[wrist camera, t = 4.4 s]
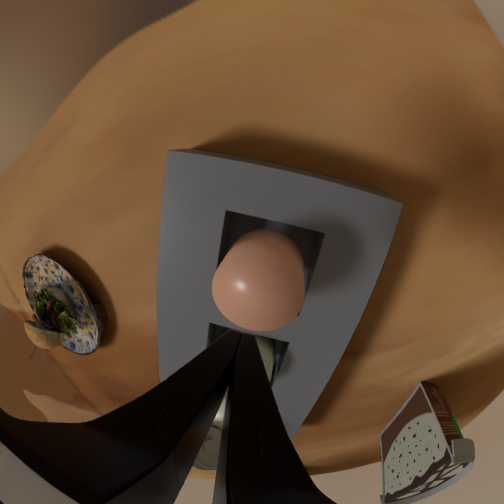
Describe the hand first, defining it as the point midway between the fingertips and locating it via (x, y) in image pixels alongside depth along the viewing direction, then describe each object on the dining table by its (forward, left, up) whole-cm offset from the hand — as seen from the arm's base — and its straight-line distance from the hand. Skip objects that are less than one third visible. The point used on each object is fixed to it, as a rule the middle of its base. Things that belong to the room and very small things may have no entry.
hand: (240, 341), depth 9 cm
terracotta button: (0, 0, -6) cm, 6 cm away
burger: (+19, +11, -10) cm, 24 cm away
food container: (-20, +14, -9) cm, 26 cm away
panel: (0, +7, -9) cm, 11 cm away
